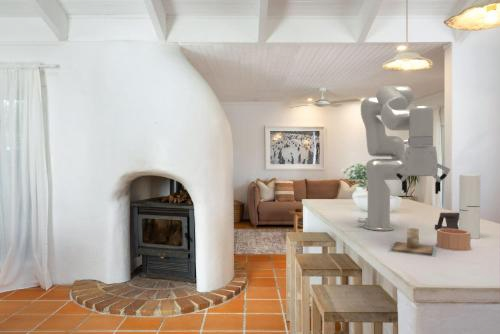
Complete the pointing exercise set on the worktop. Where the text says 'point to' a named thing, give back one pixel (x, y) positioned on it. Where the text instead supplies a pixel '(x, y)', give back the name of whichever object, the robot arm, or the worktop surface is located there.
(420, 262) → the worktop surface
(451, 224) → the portable electronic device stand
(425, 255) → the slate mat
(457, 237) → the terracotta bowl
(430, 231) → the worktop surface
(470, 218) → the cylindrical container
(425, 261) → the worktop surface
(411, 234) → the square wooden lid
